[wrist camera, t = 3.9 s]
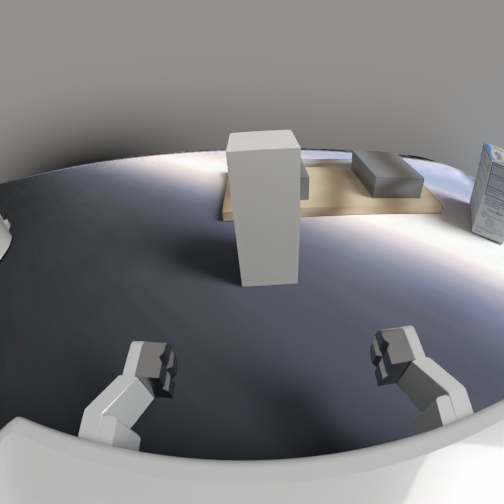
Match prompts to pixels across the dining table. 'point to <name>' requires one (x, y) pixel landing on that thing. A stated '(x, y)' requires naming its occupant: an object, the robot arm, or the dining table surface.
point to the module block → (265, 205)
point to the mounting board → (358, 187)
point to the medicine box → (489, 195)
